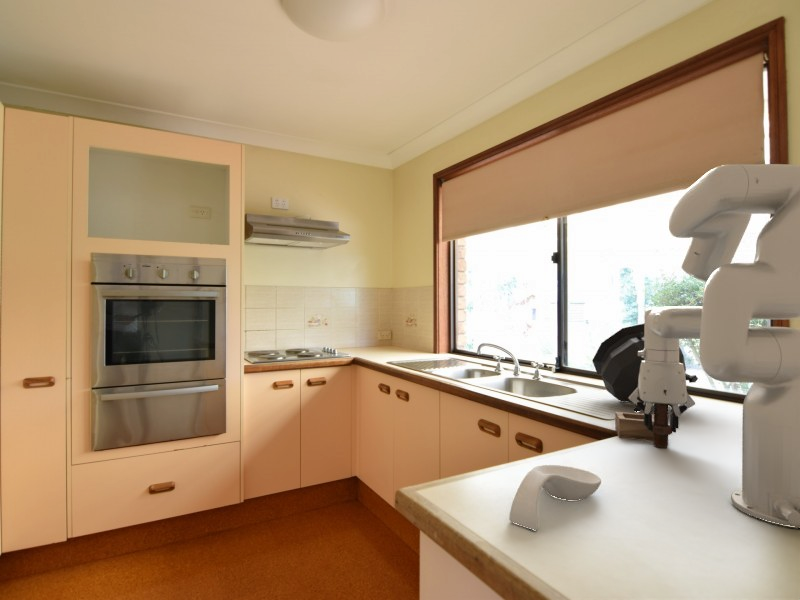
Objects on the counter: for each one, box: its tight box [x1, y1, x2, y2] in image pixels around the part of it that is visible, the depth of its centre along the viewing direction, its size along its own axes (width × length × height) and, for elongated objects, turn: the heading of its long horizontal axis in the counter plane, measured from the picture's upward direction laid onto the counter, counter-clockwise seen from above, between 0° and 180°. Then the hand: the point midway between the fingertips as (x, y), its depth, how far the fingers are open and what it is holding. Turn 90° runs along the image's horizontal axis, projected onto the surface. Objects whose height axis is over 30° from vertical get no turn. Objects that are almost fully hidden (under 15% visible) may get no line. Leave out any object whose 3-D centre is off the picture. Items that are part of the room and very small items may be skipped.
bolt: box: [650, 390, 673, 449], centre depth 111 cm, size 6×5×15 cm
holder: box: [614, 411, 654, 442], centre depth 121 cm, size 8×10×5 cm
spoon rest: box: [508, 464, 602, 531], centre depth 79 cm, size 24×12×7 cm, turn 139°
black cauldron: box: [592, 322, 699, 413], centre depth 153 cm, size 28×28×24 cm
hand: (660, 429), depth 111 cm, fingers closed on bolt, 4 cm apart
